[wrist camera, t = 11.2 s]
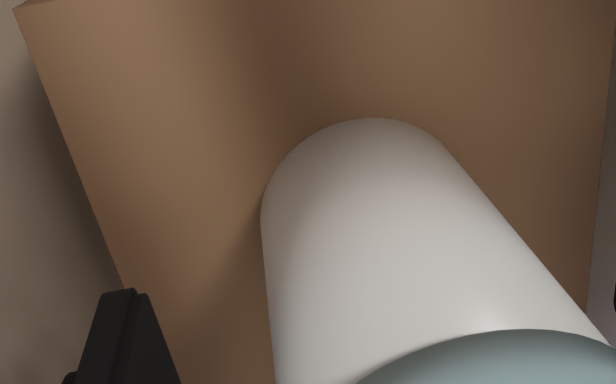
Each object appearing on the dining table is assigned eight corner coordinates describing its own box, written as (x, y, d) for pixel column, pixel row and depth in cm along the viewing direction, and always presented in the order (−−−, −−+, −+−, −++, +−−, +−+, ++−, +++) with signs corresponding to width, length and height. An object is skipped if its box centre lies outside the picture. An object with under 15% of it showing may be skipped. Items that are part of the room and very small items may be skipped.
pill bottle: (465, 92, 13) (763, 350, 6) (470, 278, 15) (679, 615, 8) (234, 138, 12) (242, 462, 5) (277, 318, 15) (321, 698, 8)
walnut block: (515, -109, 15) (628, -106, 11) (509, 251, 21) (582, 346, 17) (74, -27, 15) (11, 9, 11) (191, 316, 21) (181, 431, 16)
